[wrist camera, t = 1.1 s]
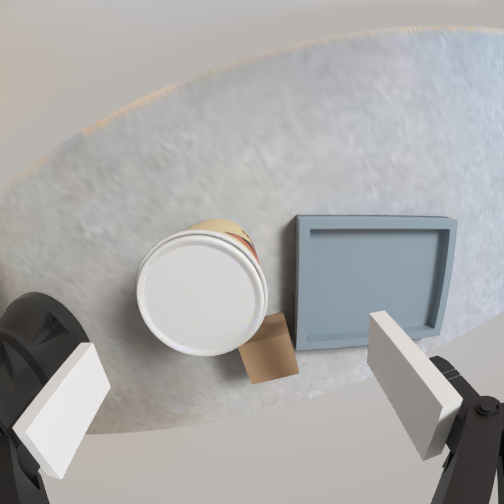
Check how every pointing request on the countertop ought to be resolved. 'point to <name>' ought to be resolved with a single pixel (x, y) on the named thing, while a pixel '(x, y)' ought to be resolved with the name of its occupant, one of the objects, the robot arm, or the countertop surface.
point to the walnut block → (269, 351)
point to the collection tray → (370, 276)
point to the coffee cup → (203, 289)
